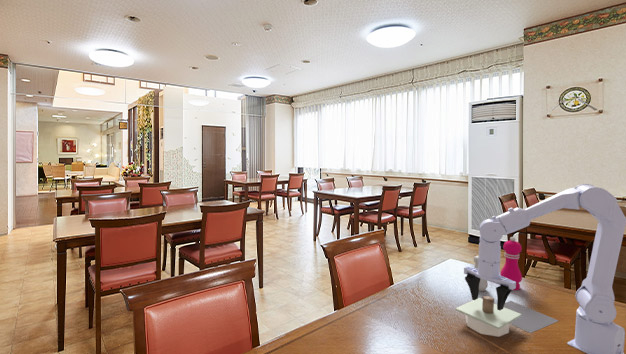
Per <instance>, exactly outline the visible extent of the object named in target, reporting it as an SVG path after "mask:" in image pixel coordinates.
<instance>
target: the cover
mask: <svg viewBox="0 0 626 354" xmlns="http://www.w3.org/2000/svg"><path fill="white" fill-rule="evenodd" d="M455 311H456V312H459V313H461V314H463V315H465V316H466V315H468V316H470V317H472V318H474V319H476V320H479V321H481V322H483V323H485V324H488V325H490V326H492V327H494V328H497V329H500V328H502V327H504V326H505V325H507V324H509V325H510V322H512V321H514V320H516V319H517V318H519V317H521V314H520V313H517V312H515V311H512V310H510V309H507V308H503V309H502V310H497V303H495V298H494V297H492V296H488V295H486V296H485V295H484V296H483V297H482V298H481V297H478V299H476V300H472V299H471V301H468V302H466V303H464V304H462V305H460V306H458V307H455Z"/></svg>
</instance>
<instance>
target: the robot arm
mask: <svg viewBox="0 0 626 354" xmlns="http://www.w3.org/2000/svg"><path fill="white" fill-rule="evenodd" d="M580 208H582V209H584V210H586V211H587V212H588V213H589V214H590V215H591V216H592V217H593V218H594V219H595V220H596V221H597V222H598V223H597V227H596V232H595V236H594V241H593V244H592V250H591V256H590V259H589V264H588V270H587V274H586V278H584V279H583V280H582V282H581V286H580V287H579V288H578V289H577V291H576V292H575V295H574V297H575V299H576V301H577V303H578V304H579V306H578V308H577V309H576V312H575V313H576V315H575V328H574V330H575V331H574V332H575V333H574V338H573V339H571V340H569V341H568V342H567V343H566V344H567V345H569V346H571V347H572V348H575V349H577V350H579V351H581V352H583V353H586V354H625V353H624V350H625V338H626V331H625V328H624V327H622V326H621V325H619V324H617V323H616V322H614V320H615V319H616V317H617V309H616V307H615V299H616V298H615V293H614V290H613V284H614V279H615V278H614V277H615V275H616V270H617V265H618V260H619V255H620V252H621V248H622V242H623V238H624V233H625V231H626V230H625V229H626V216H625V214H624V212H623V211H622V209H621V207H620V205H619V203H618V200H617V197H616V196H614V195H613V194H611V192H609V191H608V190H607V189H605V188H602V187H598V186H594V185H593V184H589V183H581V184H578V185H576V186H575V187H570V188H566V189H564V190H563V191H560V192H558V193H556V194H554V195H552V196H550V197H547V198H545V199H543V200H541V201H539V202H536V203H534V204H533V205H530V206H529V207H526V208H521V207H515V208H513V207H511V206H510V208H509V207H508V209H507V211H505V212H503V213H501V214H499V215H497V216H496V215H493V216H491V218H488V219H484V220H483V221H482V222H481V223H480V224H479V226H478V231H479V235H480V237H479V243H478V256H479V257H478V269H476V268H474V267H470V266H465V267H463V274H464V275H466V276H465V277H464V280H465V282H466V283H467V286H468V288H469V293H470V295H471V301H472V300H476V299H478V298H479V294H480V293H479V292H480V291H479V283H480V279H484V280H487V282H491V283H494V284H497V285H498V286H497V287H495V290H496V295H497V300H496V301H497V303H496V304H497V310H502V309H503V308H504V304H505V303H506V302H507V299H508V297H509V295H510V294H511V293H512V291H514V290H513V289H515V288H516V282H515V281H512V280H510V279H508V278H506V277H503V276H501V275H500V273H501V255H502V254H501V250H502V247H501V239H502V238H503V235H505V236H507V235H509V234H512V233H515V232H517V231H519V230H521V229H524V228H527V227H529V226H530V224H531V221H532V220H534V219H536V218H539V217H542V216H545V215H547V214H550V213H552V212H556V211H558V210H561V209H568V210H580Z"/></svg>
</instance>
